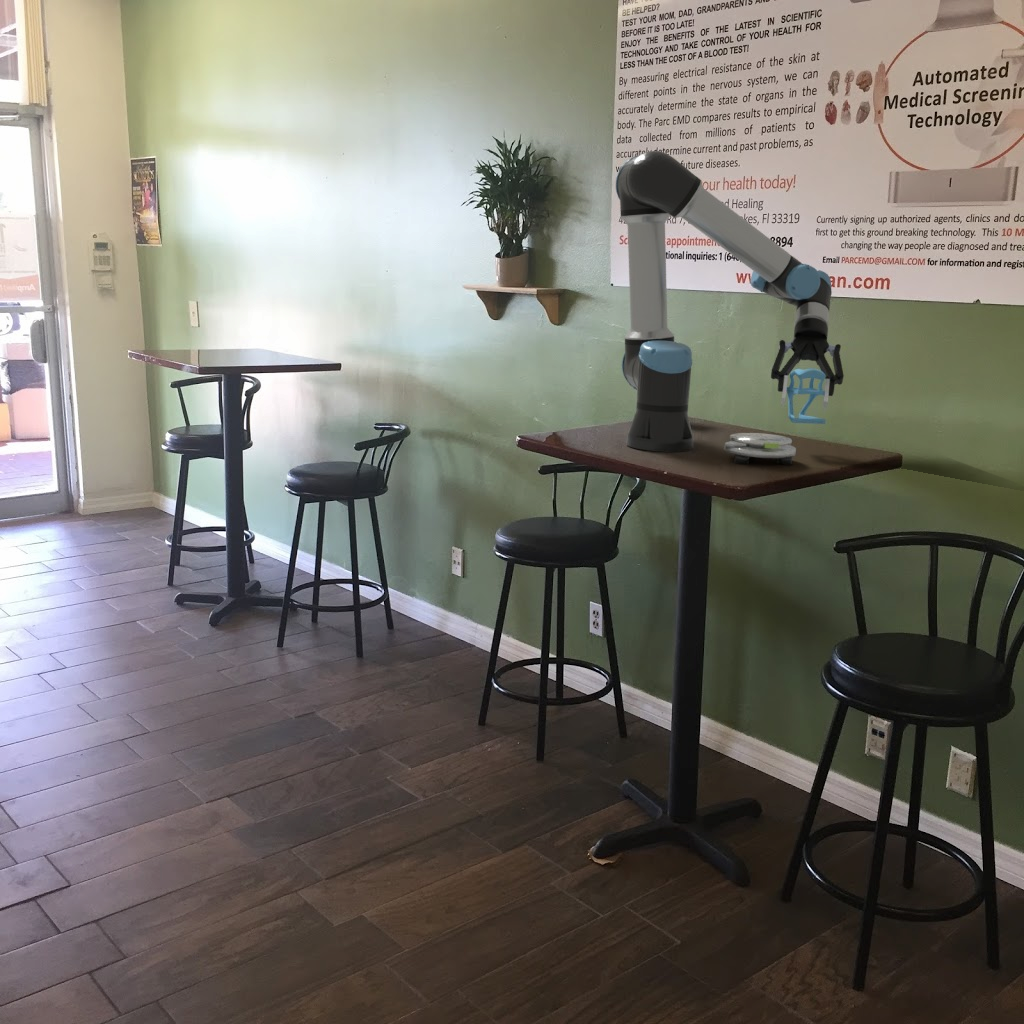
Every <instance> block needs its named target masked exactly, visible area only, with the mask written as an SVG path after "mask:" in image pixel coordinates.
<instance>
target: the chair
mask: <svg viewBox="0 0 1024 1024" xmlns="http://www.w3.org/2000/svg"><path fill="white" fill-rule="evenodd" d="M794 376H796V377H797V378H798V379H799V380H798V381H799V382H798V387H794V386H795V379H794ZM825 377H826V375H825V374H824V372H822V371H821V369H817V368H806V369H801V368H796V369H792V371H791V372H790V373H789V379H790V385H789V386H787V390H786V395H787V402H788V403H787V404H788V405H787V406H788V416H787V418H788V419H789V420H790V422H791V423H795V424H811V425H812V424H815V425H817V424H818V425H825V424H826V421H827V420H826V418H825V419H824V418H820V417H816V416H811V415H807V414H805V413H806V412H807V410H808V409H809V407H810V406H811V404H812V402H813V401H814V400H815V398H816V397H817V396H824V395H825V390H823V384H824V381H825V380H826V379H825ZM804 379H810V381H809V387H803V385H804V383H803V382H804V381H803V380H804ZM816 379H818V380H820V381H819V383H818V385H817V388H815V387H814V380H816ZM794 395H809V398H807V401H806V402H805V404H804V406H803V407H802V409H801V411H800V412H799V414H798V418H796V417H795V414H794V402H793V401H794Z"/></svg>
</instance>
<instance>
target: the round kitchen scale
mask: <svg viewBox="0 0 1024 1024" xmlns="http://www.w3.org/2000/svg"><path fill="white" fill-rule="evenodd" d="M729 440H730V441H726V442H725V443H724V451H725V452H726V453H729V454H733V455H734V461H733V463H734V464H738V465H749V462H750V458H763V459H777V462H776V463H777V464H778V465H785V466H786V465H788V466H789V465H790V466H791V465H792V464H793V457H795V456H796V453H797V448H796V447H795V446H794V445H792V442H793V440H792V438H790V437H787V436H785V435H784V436H783V435H778V434H770V433H763V432H762V433H761V432H738V433H732V434H730V435H729Z"/></svg>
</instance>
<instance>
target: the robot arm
mask: <svg viewBox="0 0 1024 1024" xmlns="http://www.w3.org/2000/svg"><path fill="white" fill-rule="evenodd" d="M615 191H616V194H617V199H619V206H620V209H619V210H620V211H619V212H620V219H621V220H622V221H623V222H624V223H625V224H626V226H627V245H628V246H627V247H628V248H627V249H628V252H627V253H628V254H627V255H628V279H629V281H628V282H629V283H628V284H629V308H630V309H629V311H630V330H629V331H628V333H627V334H626V335H625V336H624V354H623V356H622V360H621V370H622V371H621V372H622V374H623V377H624V379H625V380H626V382H627V384H628V385H629V386H631V387H632V388H633V389H635V390H636V391H637V393H636V407H635V408H636V409H635V410H636V411H635V413H634V417H633V419H632V421H631V424H630V427H629V429H628V432H627V435H626V443H625V444H626V446H628V447H630V448H634V449H637V450H643V451H649V452H650V451H651V452H652V451H653V452H685V451H687V452H688V451H690V450H692V449H694V436H693V435H694V434H693V432H692V427H691V423H690V418H689V413H688V412H689V400H690V386H691V377H692V376H691V374H692V373H691V372H692V365H693V358H692V355H693V354H692V353H693V351H692V349H691V347H689V346H688V345H687V344H684V343H681V342H677V341H675V334H674V333H673V332H672V331H671V330H670V329H669V328H668V304H667V303H668V299H667V297H668V296H667V295H668V294H667V288H668V287H667V256H666V255H667V253H666V252H667V251H666V246H667V245H666V222H667V221H668V219H669V218H670V217H672V218H674V219H677V218H681V219H683V220H684V221H686V222H687V223H689V224H690V225H691V226H693V227H694V228H696V229H697V230H698V231H699V232H701V233H703V235H705V236H706V237H707V238H709V239H710V240H712V241H713V242H715V244H717V245H718V246H720V247H721V248H722V249H724V250H725V251H726V252H728V253H729V254H730V255H731V256H733V257H734V258H736V259H737V260H738V261H739V262H741V263H742V264H744V265H745V266H746V267H748V268H749V269H750V270H752V273H751V276H750V286H751V287H752V288H754V289H756V290H757V291H758V292H760V293H764V294H766V295H769V296H771V297H774V298H776V299H777V300H781V301H783V302H784V303H786V304H789V305H791V306H794V307H796V308H795V309H796V313H795V320H794V330H793V331H794V332H793V339H792V340H791V341H790V342H788V341H787V342H786V341H785V340H784V339H780V340H779V345H778V352H777V355H776V357H775V360H774V362H773V365H772V368H771V373H770V378H771V380H777V383H778V384H777V391H778V392H781V393H782V394H781V403H780V404H781V405H780V406H785V405H786V399H787V398H786V396H787V391H786V390H787V387H788V378H789V376H790V372H792V371H793V370H794V368H795V367H796V366H797V365H798V364H799V363H800V362H801V361H812V362H815V363H816V365H817V366H818V367H819V370H821V371H822V372H824V374H825V375H826V377H825V379H824V380H825V383H824V391H825V395H823V407H822V410H827V409H828V403H829V396H830V397H833V395H834V393H835V386H836V385H842V384H843V381H844V376H845V375H844V371H843V365H842V364H843V363H842V361H841V354H840V353H841V347H842V346H841V344H837V343H836V344H835V345H830V344H829V342H828V333H829V322H830V321H829V320H830V310H831V309H830V308H831V297H832V280H831V277H830V275H829V274H827V272H825V271H823V270H820V269H819V270H817V269H816V268H815V267H813V266H812V265H810V264H807V263H802V262H801V261H800V260H798V259H797V258H796V257H795V256H792V254H790V253H789V252H788V251H787V250H785V249H784V248H783V247H781V246H780V245H778V244H777V242H775V241H773V240H772V238H771V239H770V238H769V237H768V236H767V235H766V234H764V233H763V232H761V231H760V230H759V229H758V228H757V227H755V226H754V225H753V224H751V223H750V222H749V221H747V220H746V219H745V218H744V217H742V216H741V215H739V214H738V213H736V212H735V211H734V210H733V209H731V208H730V207H728V205H726V204H725V203H724V202H722V201H721V200H720V199H718V198H717V197H715V195H713V194H712V193H711V192H709V191H708V190H707V189H705V188H704V187H703V181H702V179H701V178H699V177H698V176H697V175H695V174H694V173H693V172H691V171H690V170H689V169H688V168H687V167H685V166H684V165H683V164H682V163H681V162H679V161H678V160H677V159H675V158H674V157H673V156H671V155H669V154H668V153H665V152H664V151H663V152H662V151H659V150H651V151H646V152H644V153H642V154H637V155H635V156H633V157H630V158H629V159H628V160H627V161H625V162H624V163H623V165H622V166H621V167H620V169H619V171H618V173H617V176H616V178H615ZM790 349H791V350H792V351H793V354H792V356H791V357H790V358H789V360H787V361H786V363H785V365H784V366H783V367H782V364H783V360H784V358H785V354H786V353H787V352H789V350H790ZM827 352H829V354H830V357H832V363H833V364H832V365H833V369H834V372H833V370H832V367H831V366H830V364H829V363H828V361H827V358H826V355H825V354H826V353H827ZM781 367H782V369H781V370H780V368H781Z"/></svg>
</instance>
